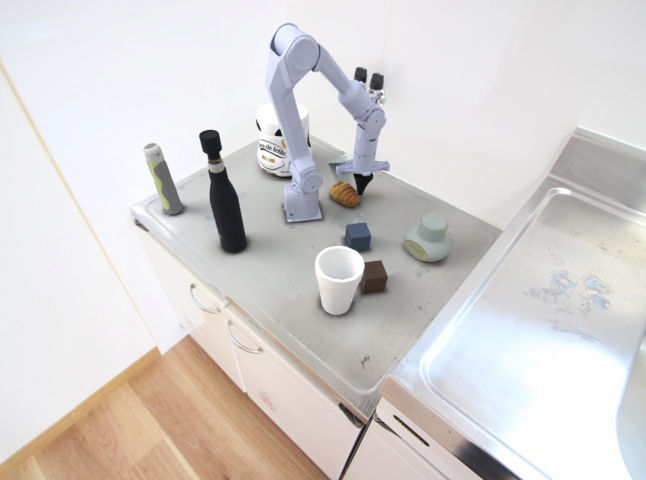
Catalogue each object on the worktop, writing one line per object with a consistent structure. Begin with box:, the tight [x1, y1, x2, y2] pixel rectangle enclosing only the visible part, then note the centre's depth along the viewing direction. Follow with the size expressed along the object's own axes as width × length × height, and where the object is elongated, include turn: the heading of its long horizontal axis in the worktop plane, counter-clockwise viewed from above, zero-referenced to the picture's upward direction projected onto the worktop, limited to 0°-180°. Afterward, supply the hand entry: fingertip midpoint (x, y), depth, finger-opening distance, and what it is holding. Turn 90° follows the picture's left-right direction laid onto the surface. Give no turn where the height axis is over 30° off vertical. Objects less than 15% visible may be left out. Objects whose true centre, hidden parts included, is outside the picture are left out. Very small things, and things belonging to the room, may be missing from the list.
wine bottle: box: [198, 129, 248, 254], centre depth 77 cm, size 6×6×30 cm
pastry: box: [329, 180, 360, 208], centre depth 98 cm, size 9×7×4 cm
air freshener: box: [403, 212, 452, 263], centre depth 81 cm, size 11×8×10 cm
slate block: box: [344, 221, 372, 253], centre depth 85 cm, size 5×5×5 cm
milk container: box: [255, 102, 313, 178], centre depth 105 cm, size 17×17×18 cm
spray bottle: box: [142, 142, 183, 215], centre depth 90 cm, size 5×5×20 cm
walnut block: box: [359, 259, 389, 295], centre depth 77 cm, size 5×5×5 cm
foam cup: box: [314, 245, 365, 316], centre depth 70 cm, size 10×9×13 cm
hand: (359, 193), depth 99 cm, fingers closed
